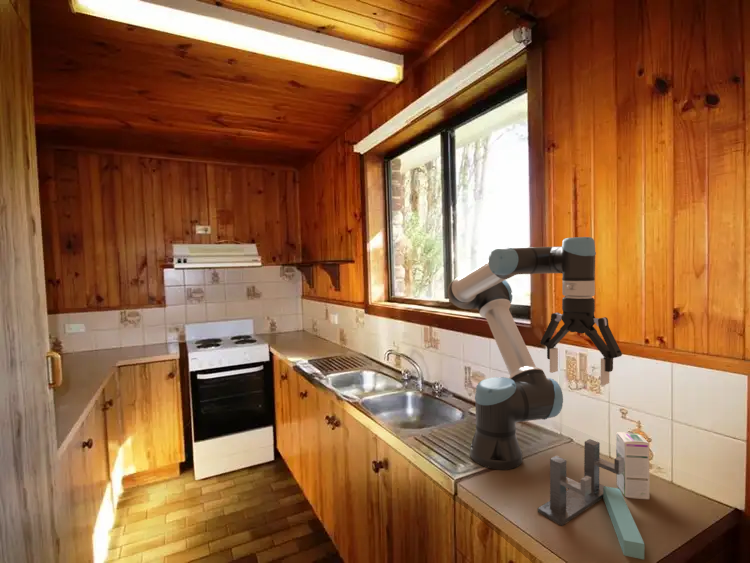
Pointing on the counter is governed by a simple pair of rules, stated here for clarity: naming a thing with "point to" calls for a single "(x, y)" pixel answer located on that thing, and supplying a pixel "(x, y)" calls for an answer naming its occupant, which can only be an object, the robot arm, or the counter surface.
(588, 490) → the rack
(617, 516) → the block
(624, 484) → the syrup box
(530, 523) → the counter surface
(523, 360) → the robot arm
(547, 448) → the counter surface
